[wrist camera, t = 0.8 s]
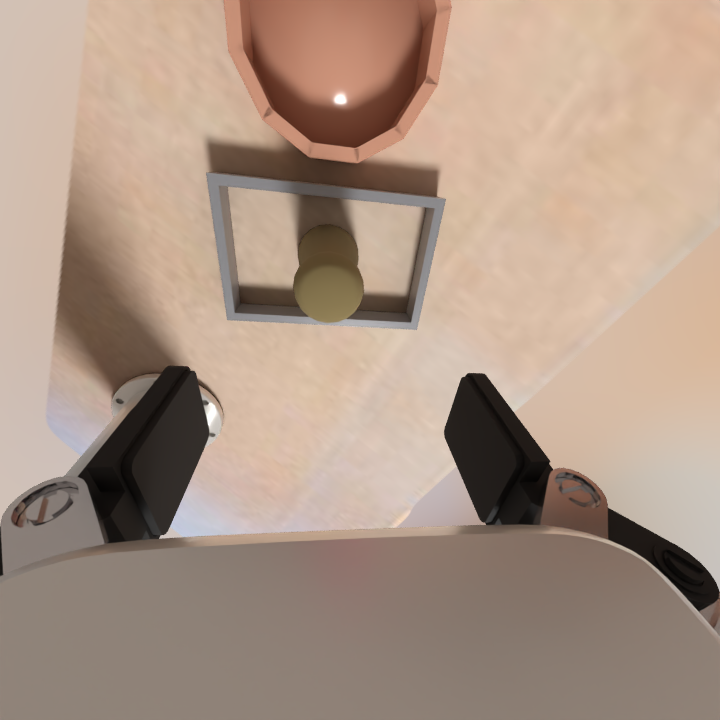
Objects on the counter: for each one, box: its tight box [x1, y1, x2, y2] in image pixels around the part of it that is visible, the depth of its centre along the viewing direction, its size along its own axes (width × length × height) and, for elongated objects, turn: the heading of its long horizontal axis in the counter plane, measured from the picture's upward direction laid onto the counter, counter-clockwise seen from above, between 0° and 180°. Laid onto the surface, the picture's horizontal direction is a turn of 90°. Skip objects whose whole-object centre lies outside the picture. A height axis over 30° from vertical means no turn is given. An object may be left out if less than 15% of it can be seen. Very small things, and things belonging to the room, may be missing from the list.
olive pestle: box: [293, 225, 364, 323], centre depth 26 cm, size 6×6×11 cm
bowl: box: [224, 0, 452, 163], centre depth 21 cm, size 14×14×4 cm
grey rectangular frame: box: [206, 172, 446, 330], centre depth 29 cm, size 13×20×2 cm, turn 84°
